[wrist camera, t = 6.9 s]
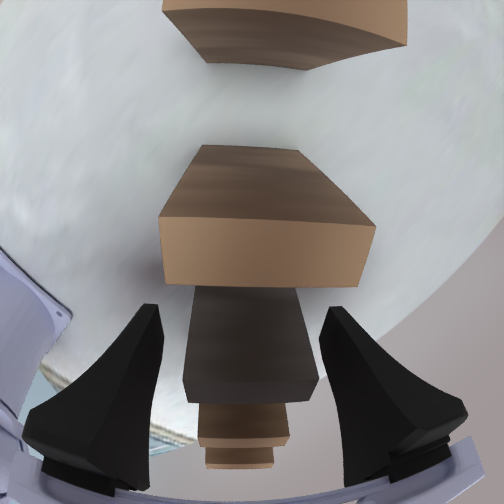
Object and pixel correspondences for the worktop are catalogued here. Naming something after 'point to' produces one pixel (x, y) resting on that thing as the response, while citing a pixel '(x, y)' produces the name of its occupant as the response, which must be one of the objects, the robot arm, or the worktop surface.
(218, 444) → the domino
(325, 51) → the domino
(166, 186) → the worktop surface
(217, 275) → the domino
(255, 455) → the domino
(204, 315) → the ebony domino
